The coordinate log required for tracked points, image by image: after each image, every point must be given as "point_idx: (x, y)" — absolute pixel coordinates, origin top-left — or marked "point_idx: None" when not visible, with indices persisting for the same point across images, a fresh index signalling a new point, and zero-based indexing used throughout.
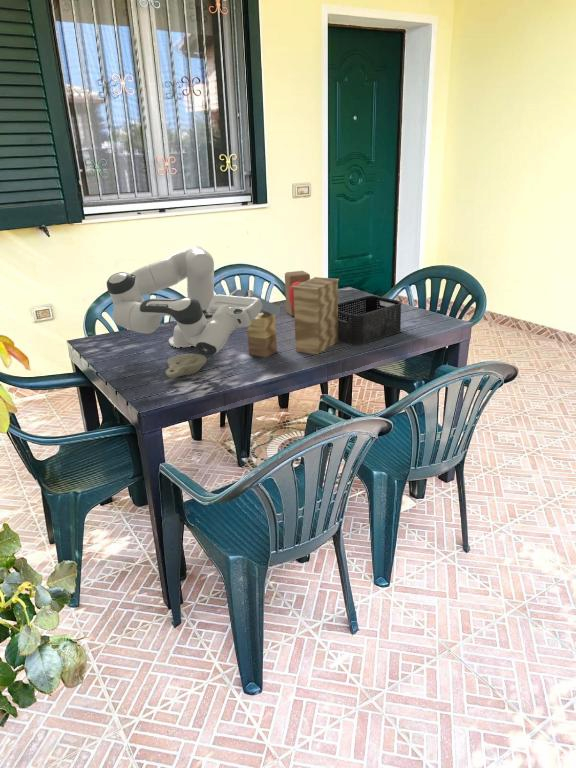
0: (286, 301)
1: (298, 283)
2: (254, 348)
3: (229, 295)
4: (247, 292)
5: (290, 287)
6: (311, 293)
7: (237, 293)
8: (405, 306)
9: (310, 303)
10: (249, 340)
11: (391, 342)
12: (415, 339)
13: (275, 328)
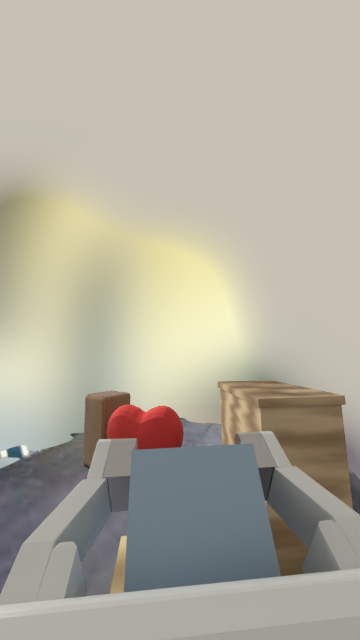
0: (86, 444)
1: (130, 407)
2: None
3: (34, 610)
4: (261, 465)
5: (113, 416)
6: (324, 414)
7: (150, 506)
8: (220, 425)
9: (323, 449)
10: None
11: (354, 498)
12: (357, 478)
13: None
